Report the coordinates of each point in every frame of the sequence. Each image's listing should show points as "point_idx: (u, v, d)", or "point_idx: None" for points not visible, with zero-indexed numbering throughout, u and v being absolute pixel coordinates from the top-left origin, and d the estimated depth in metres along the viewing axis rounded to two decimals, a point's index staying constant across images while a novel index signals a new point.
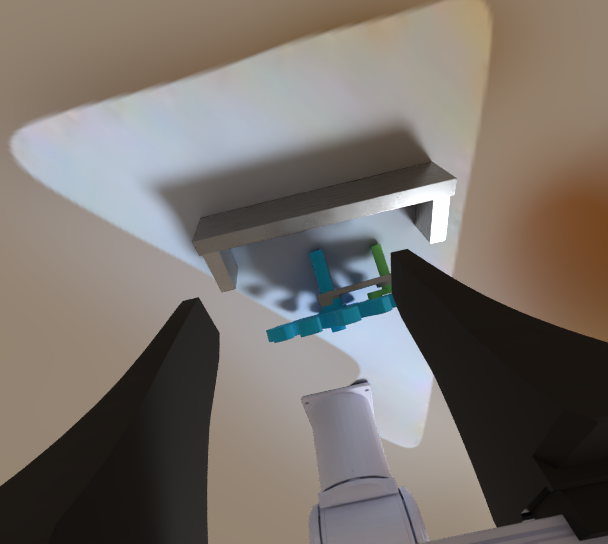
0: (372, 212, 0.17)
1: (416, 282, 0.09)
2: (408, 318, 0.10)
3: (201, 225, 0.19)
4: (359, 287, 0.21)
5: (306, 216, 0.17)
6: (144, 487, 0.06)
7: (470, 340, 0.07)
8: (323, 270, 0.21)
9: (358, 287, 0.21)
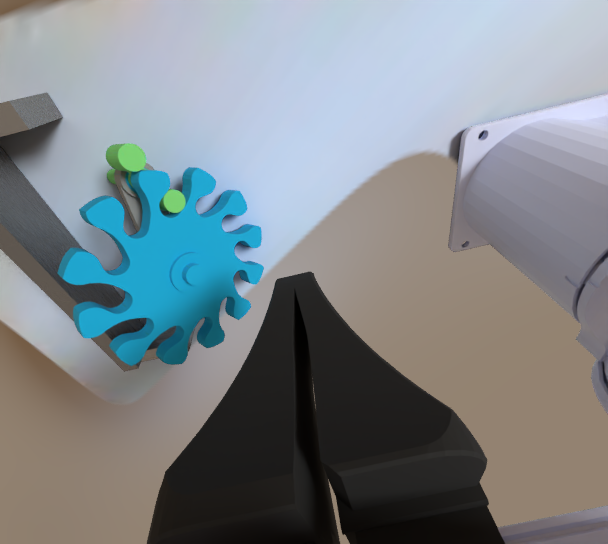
0: (12, 239, 0.14)
1: (300, 308, 0.09)
2: None
3: None
4: None
5: (55, 301, 0.16)
6: (308, 452, 0.06)
7: None
8: None
9: None
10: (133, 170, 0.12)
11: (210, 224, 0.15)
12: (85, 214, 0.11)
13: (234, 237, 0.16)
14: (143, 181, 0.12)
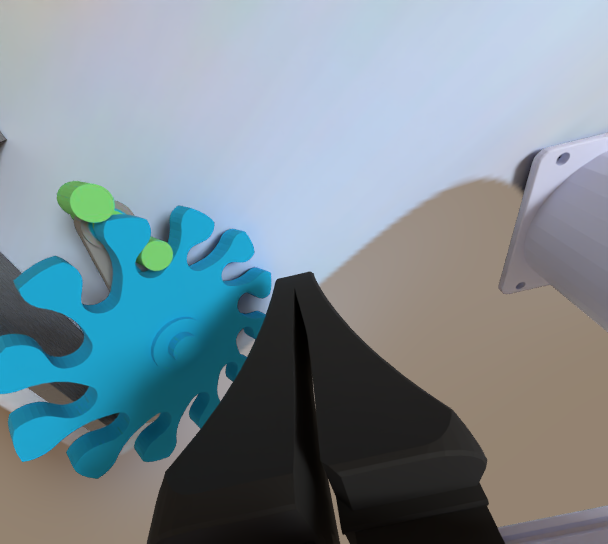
0: None
1: (300, 309, 0.09)
2: None
3: None
4: None
5: None
6: (308, 452, 0.06)
7: None
8: None
9: None
10: (95, 221, 0.08)
11: (206, 277, 0.11)
12: (19, 291, 0.07)
13: (237, 289, 0.13)
14: (110, 234, 0.09)
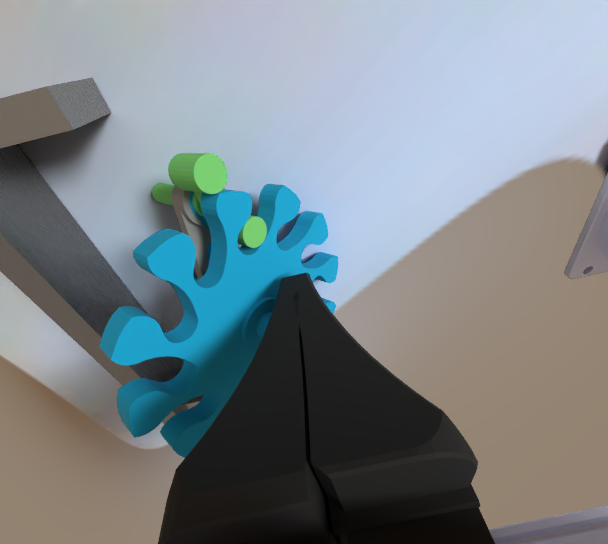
0: (41, 280, 0.10)
1: (295, 310, 0.09)
2: None
3: None
4: (199, 271, 0.11)
5: (92, 354, 0.12)
6: None
7: None
8: None
9: (199, 273, 0.11)
10: (211, 192, 0.08)
11: (290, 258, 0.11)
12: (145, 260, 0.07)
13: (312, 272, 0.13)
14: (221, 207, 0.08)
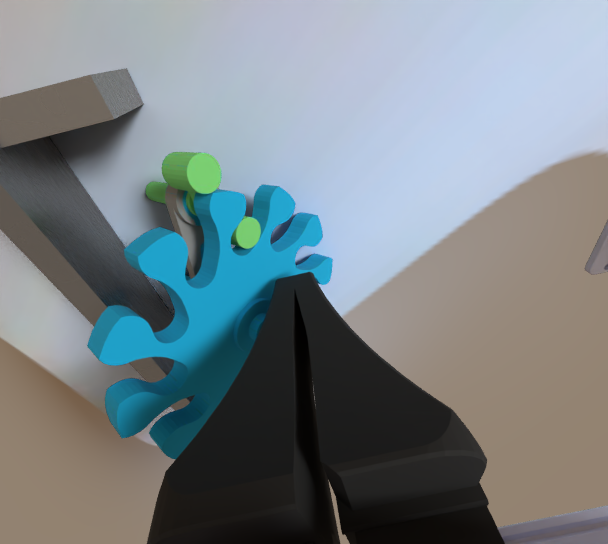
0: (73, 273, 0.10)
1: (300, 309, 0.09)
2: None
3: None
4: (192, 271, 0.11)
5: None
6: (308, 452, 0.06)
7: None
8: None
9: (192, 273, 0.11)
10: (204, 192, 0.08)
11: (283, 259, 0.11)
12: (136, 259, 0.07)
13: None
14: (215, 207, 0.08)
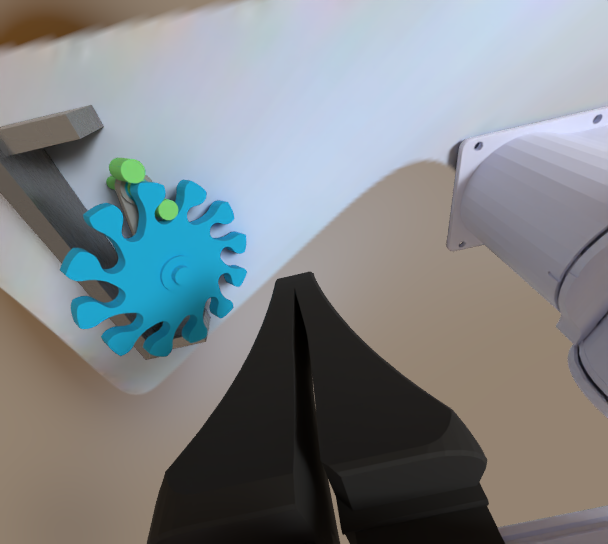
0: (57, 235, 0.15)
1: (300, 309, 0.09)
2: None
3: None
4: None
5: (89, 292, 0.18)
6: (308, 452, 0.06)
7: None
8: None
9: None
10: (133, 182, 0.13)
11: (199, 230, 0.17)
12: (89, 219, 0.13)
13: (221, 243, 0.18)
14: (141, 192, 0.14)
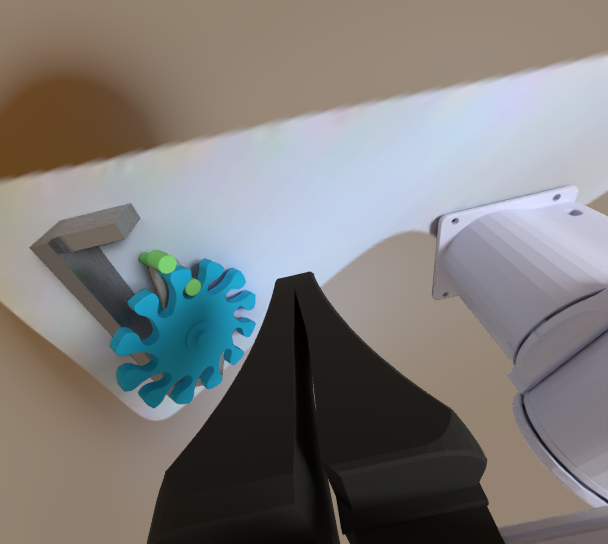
0: (102, 308, 0.19)
1: (300, 309, 0.09)
2: None
3: None
4: (164, 305, 0.19)
5: None
6: (308, 452, 0.06)
7: None
8: None
9: (164, 306, 0.19)
10: (167, 272, 0.17)
11: (217, 298, 0.20)
12: (133, 307, 0.16)
13: (234, 305, 0.21)
14: (173, 278, 0.17)
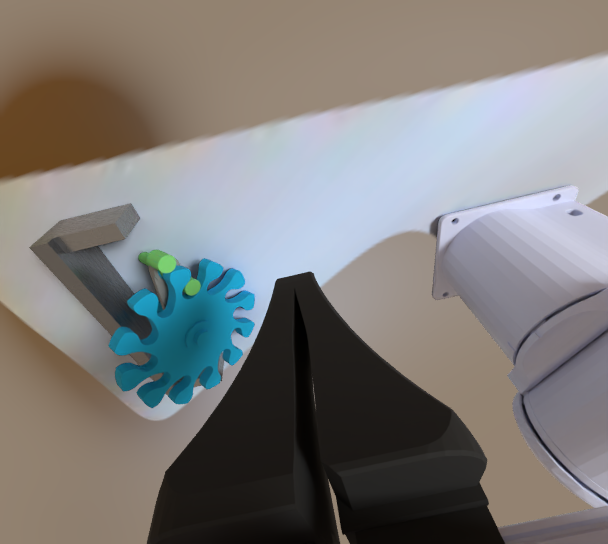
0: (102, 308, 0.19)
1: (300, 309, 0.09)
2: None
3: None
4: (163, 305, 0.19)
5: None
6: (308, 452, 0.06)
7: None
8: None
9: (163, 306, 0.19)
10: (167, 272, 0.17)
11: (216, 298, 0.20)
12: (133, 306, 0.16)
13: (233, 305, 0.21)
14: (172, 278, 0.17)
